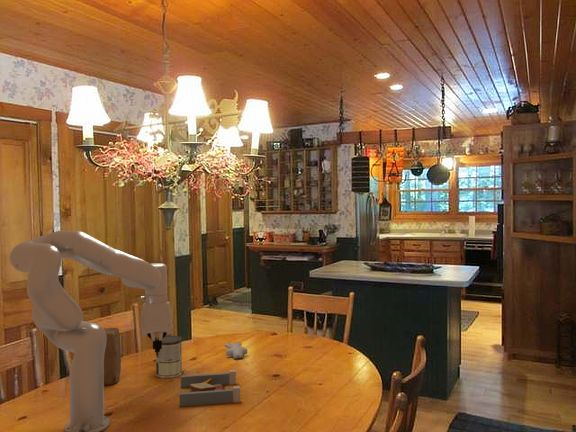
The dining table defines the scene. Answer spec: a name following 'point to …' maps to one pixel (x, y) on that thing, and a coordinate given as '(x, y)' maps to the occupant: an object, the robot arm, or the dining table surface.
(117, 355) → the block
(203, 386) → the toy sandwich meal
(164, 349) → the coffee can
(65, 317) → the robot arm
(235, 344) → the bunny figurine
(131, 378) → the dining table surface
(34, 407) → the dining table surface
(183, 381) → the chute
